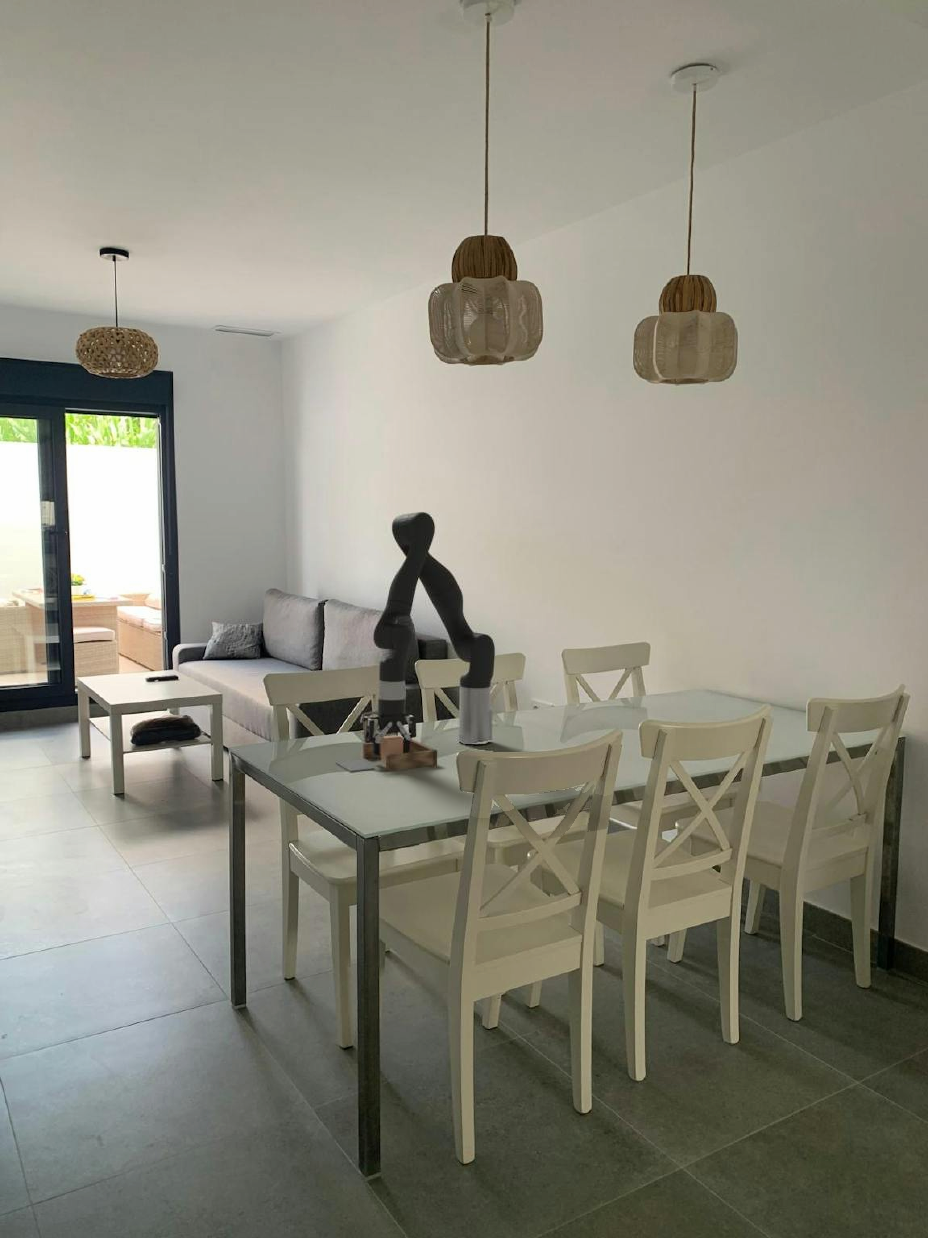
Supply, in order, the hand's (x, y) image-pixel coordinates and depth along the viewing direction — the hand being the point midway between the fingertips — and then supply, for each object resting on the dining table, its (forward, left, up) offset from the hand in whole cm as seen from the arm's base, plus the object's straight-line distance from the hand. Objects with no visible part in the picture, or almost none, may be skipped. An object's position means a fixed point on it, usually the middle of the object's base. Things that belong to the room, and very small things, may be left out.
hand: (390, 754), depth 265 cm
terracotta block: (0, 0, -2) cm, 2 cm away
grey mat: (+11, 0, -2) cm, 11 cm away
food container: (-5, -19, -2) cm, 20 cm away
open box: (-2, 0, -2) cm, 3 cm away
